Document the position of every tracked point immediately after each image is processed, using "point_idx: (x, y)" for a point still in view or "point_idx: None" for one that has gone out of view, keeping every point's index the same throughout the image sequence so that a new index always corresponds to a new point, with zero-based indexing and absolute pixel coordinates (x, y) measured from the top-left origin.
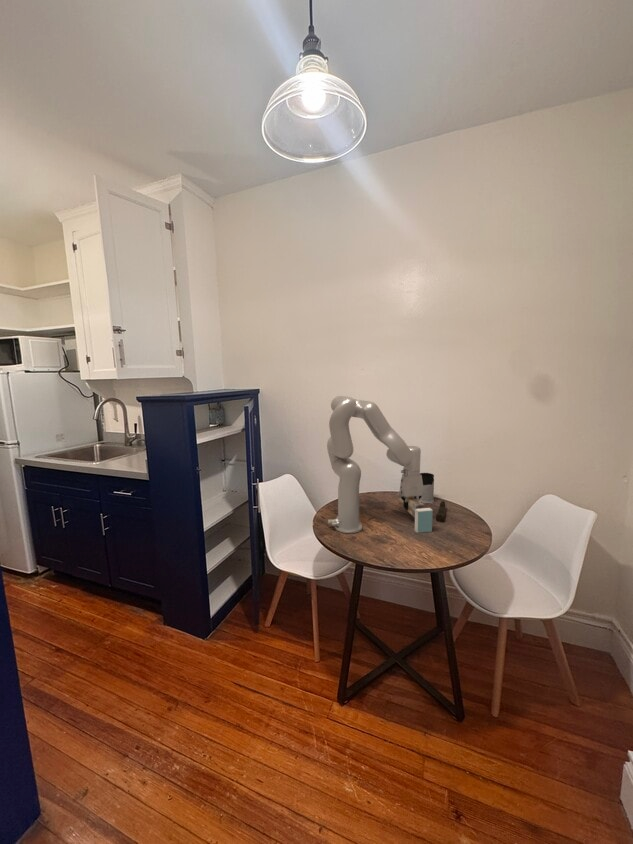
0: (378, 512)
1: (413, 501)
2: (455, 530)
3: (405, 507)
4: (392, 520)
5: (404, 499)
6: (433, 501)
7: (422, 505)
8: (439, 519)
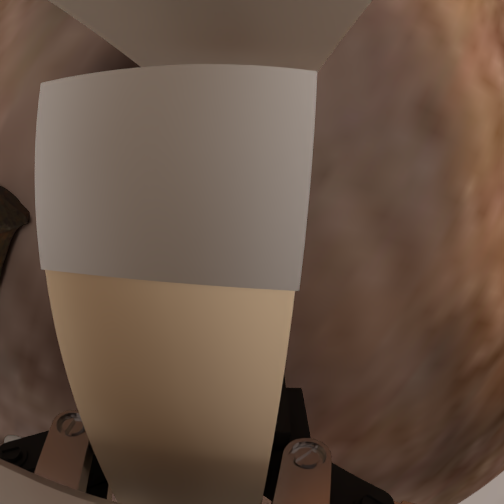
0: (390, 439)
1: (207, 380)
2: (5, 53)
3: (290, 389)
4: (389, 320)
5: (331, 484)
6: (5, 440)
7: (87, 82)
8: (5, 199)
